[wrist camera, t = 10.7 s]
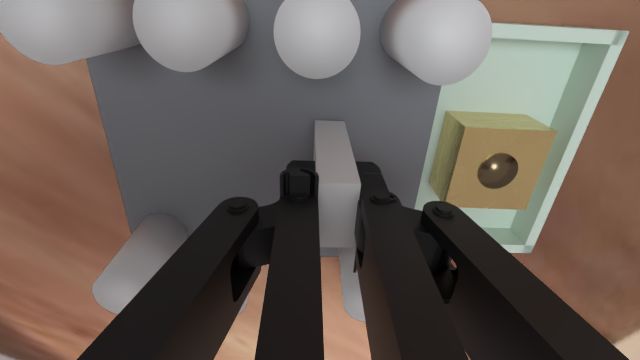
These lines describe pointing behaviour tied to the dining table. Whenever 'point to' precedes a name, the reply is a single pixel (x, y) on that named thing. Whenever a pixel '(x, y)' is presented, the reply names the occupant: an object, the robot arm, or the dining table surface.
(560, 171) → the tray
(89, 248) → the dining table surface
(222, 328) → the robot arm
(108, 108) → the board
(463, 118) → the gold block with knob
